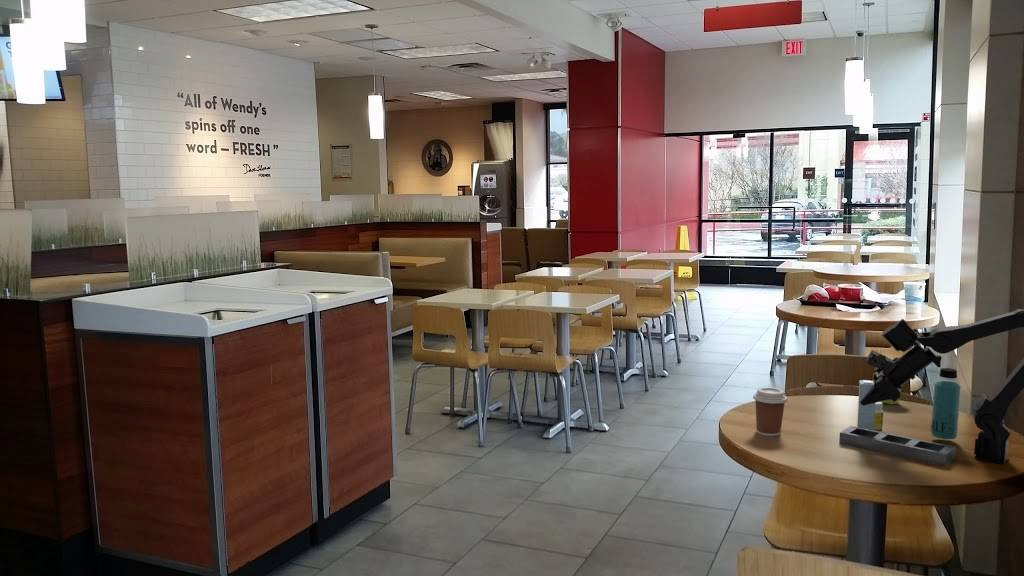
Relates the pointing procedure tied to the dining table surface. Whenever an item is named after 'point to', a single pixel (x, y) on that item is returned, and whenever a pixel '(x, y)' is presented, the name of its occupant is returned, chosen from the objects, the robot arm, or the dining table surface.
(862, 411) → the light blue tall block
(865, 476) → the dining table surface
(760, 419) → the coffee cup
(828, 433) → the dining table surface
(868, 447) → the grey slotted rack
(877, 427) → the supplement bottle
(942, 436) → the beverage bottle
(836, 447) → the dining table surface
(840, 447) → the dining table surface
